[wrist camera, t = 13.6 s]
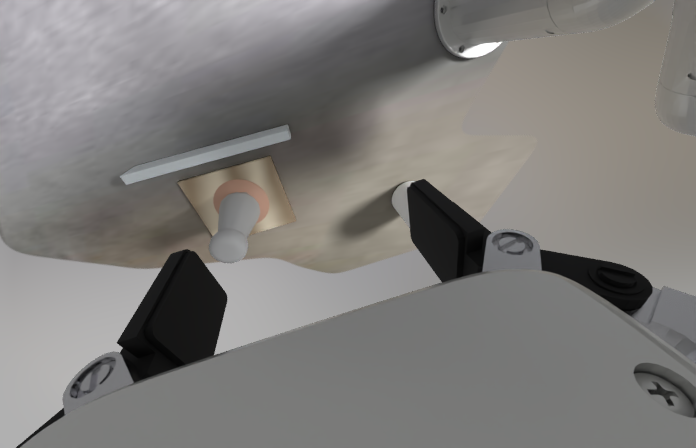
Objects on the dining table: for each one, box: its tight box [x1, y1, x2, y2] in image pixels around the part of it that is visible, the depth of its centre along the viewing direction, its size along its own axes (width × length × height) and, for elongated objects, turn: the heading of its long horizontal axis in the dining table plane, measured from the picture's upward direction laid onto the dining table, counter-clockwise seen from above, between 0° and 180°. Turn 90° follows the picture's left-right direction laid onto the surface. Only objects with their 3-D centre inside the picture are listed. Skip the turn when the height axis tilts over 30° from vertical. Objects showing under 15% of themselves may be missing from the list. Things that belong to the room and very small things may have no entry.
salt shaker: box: [209, 192, 260, 263], centre depth 35 cm, size 6×6×13 cm
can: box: [392, 181, 415, 228], centre depth 42 cm, size 6×6×12 cm
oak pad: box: [178, 156, 296, 236], centre depth 41 cm, size 14×12×1 cm
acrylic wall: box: [120, 124, 291, 185], centre depth 34 cm, size 22×1×4 cm, turn 102°
